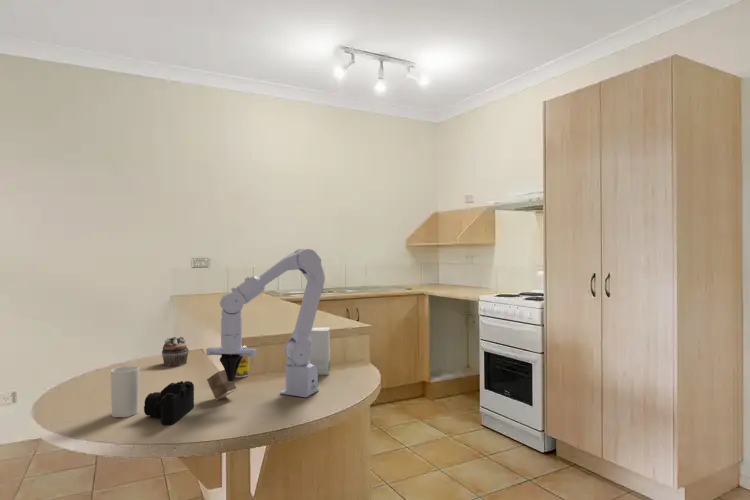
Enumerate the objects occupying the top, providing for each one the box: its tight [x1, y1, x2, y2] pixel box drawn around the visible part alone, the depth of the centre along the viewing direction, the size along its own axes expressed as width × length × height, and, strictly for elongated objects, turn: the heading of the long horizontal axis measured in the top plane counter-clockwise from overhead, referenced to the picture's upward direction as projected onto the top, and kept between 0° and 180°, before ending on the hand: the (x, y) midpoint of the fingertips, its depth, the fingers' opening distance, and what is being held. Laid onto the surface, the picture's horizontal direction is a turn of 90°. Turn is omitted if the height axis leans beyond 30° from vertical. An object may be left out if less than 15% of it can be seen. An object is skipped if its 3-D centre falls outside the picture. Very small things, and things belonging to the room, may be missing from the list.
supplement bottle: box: [235, 345, 250, 379], centre depth 164 cm, size 6×6×10 cm
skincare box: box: [310, 326, 331, 376], centre depth 169 cm, size 8×7×16 cm
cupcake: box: [161, 336, 190, 367], centre depth 181 cm, size 10×10×10 cm
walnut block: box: [206, 369, 237, 401], centre depth 140 cm, size 5×4×7 cm
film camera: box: [143, 380, 195, 426], centre depth 125 cm, size 15×10×9 cm, turn 177°
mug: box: [110, 365, 140, 418], centre depth 128 cm, size 10×7×12 cm, turn 11°
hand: (231, 380), depth 138 cm, fingers closed
